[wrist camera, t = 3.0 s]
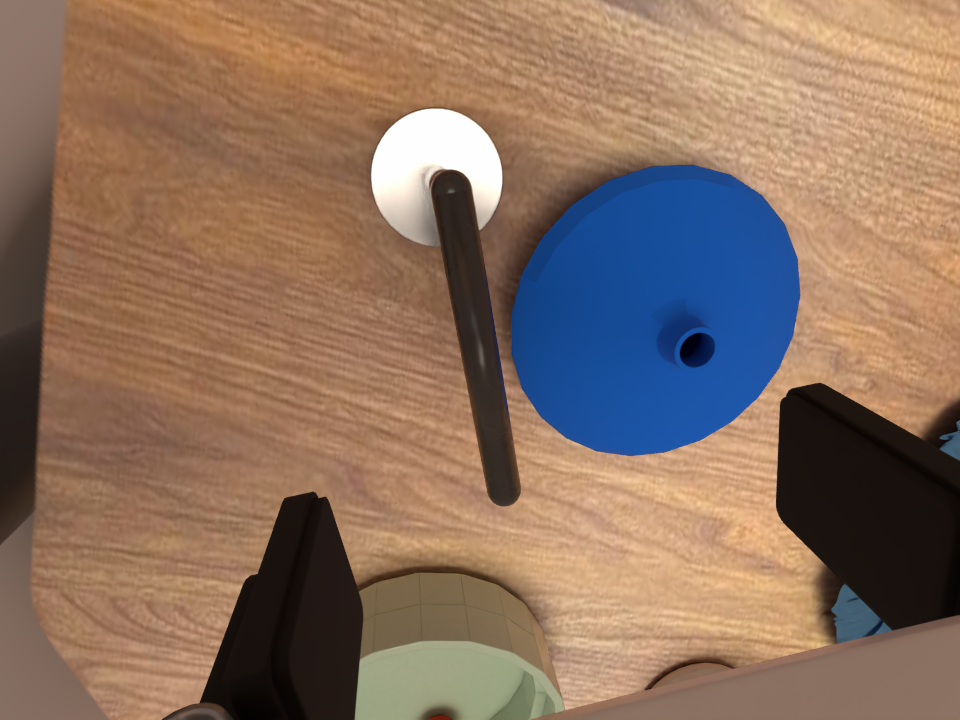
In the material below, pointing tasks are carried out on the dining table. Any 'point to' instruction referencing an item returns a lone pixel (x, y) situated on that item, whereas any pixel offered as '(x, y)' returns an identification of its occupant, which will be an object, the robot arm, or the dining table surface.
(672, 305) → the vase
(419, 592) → the bowl
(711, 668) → the mug
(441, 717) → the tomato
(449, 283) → the ladle
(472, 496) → the dining table surface
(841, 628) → the decorative plate
